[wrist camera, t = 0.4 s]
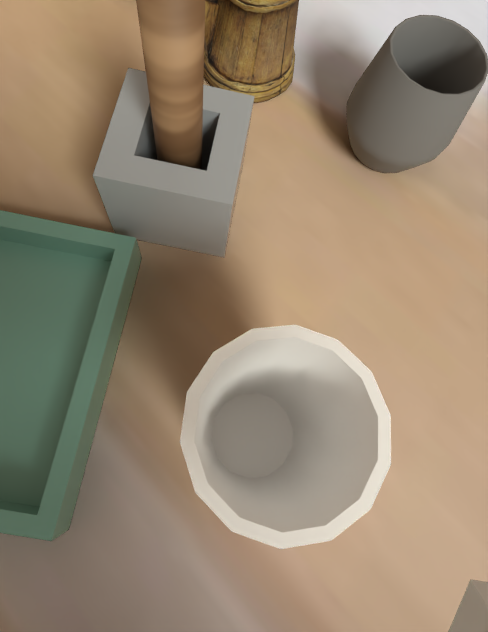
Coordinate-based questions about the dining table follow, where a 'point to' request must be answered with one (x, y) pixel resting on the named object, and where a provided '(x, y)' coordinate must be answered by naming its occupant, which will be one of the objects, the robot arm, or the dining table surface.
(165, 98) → the dowel
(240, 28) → the wooden mug
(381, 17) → the dining table surface
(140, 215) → the grey hollow square block
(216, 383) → the foam cup
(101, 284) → the tray
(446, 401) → the dining table surface
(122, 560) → the dining table surface
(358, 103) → the cup
